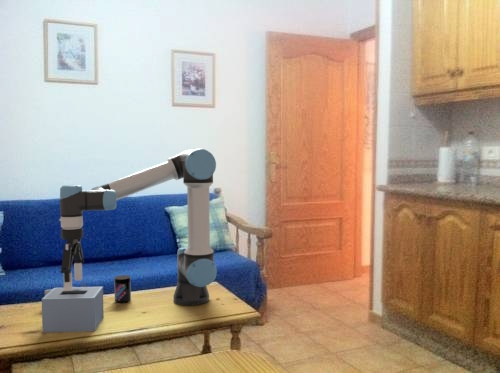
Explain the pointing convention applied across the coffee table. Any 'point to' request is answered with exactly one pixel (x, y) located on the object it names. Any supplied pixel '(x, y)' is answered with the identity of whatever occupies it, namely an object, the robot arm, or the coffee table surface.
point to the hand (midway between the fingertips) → (73, 285)
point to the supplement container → (122, 289)
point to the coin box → (72, 309)
